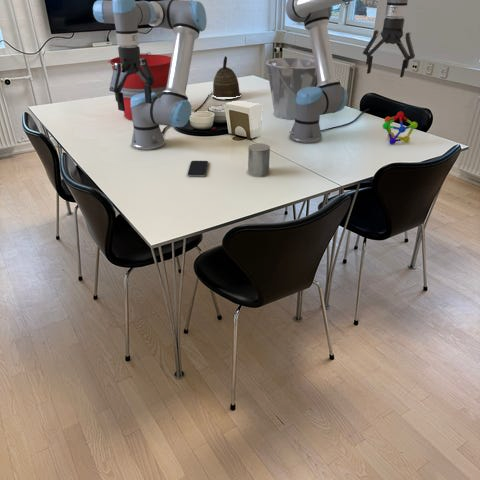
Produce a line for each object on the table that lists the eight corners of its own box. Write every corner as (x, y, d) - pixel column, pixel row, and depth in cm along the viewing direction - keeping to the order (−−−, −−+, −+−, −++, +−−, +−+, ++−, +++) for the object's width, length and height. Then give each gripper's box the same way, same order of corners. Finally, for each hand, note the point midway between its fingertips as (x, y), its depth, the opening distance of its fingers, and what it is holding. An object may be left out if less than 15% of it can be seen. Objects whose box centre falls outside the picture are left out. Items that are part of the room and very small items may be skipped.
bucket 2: (291, 125, 232) (295, 70, 217) (253, 113, 251) (254, 61, 236) (327, 115, 249) (333, 62, 234) (289, 104, 267) (292, 55, 253)
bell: (227, 105, 294) (202, 96, 282) (238, 66, 289) (213, 55, 277) (243, 108, 280) (217, 98, 268) (255, 66, 275) (229, 55, 263)
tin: (243, 172, 180) (244, 147, 174) (257, 166, 185) (257, 141, 179) (259, 178, 175) (260, 152, 169) (273, 172, 180) (274, 146, 175)
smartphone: (187, 174, 176) (191, 160, 188) (187, 176, 176) (191, 162, 189) (205, 175, 176) (208, 160, 188) (205, 176, 176) (208, 162, 189)
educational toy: (377, 146, 209) (379, 114, 202) (384, 138, 219) (386, 107, 211) (411, 149, 202) (415, 116, 195) (417, 141, 212) (420, 109, 204)
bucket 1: (123, 105, 263) (116, 51, 247) (182, 106, 262) (179, 52, 247) (107, 123, 234) (97, 63, 218) (173, 124, 233) (168, 64, 217)
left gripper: (107, 51, 146) (116, 115, 157) (161, 43, 163) (165, 101, 174) (93, 49, 150) (102, 112, 161) (147, 41, 167) (152, 98, 178)
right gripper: (360, 16, 174) (352, 73, 185) (426, 20, 163) (414, 80, 174) (365, 14, 179) (358, 70, 190) (430, 18, 168) (418, 76, 180)
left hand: (135, 106), depth 168 cm, fingers open, 13 cm apart
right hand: (384, 75), depth 182 cm, fingers open, 13 cm apart
